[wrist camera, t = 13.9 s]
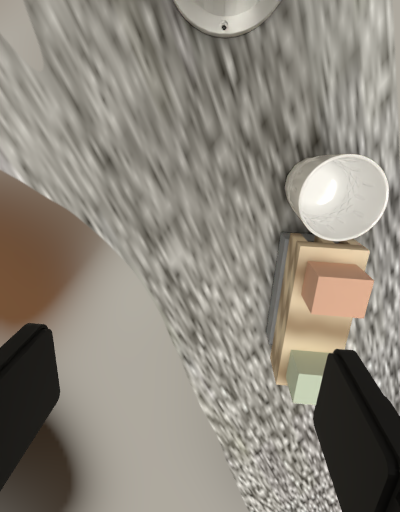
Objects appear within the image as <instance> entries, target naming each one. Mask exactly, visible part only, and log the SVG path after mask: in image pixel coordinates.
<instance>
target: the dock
mask: <svg viewBox="0 0 400 512" xmlns="http://www.w3.org/2000/svg"><path fill="white" fill-rule="evenodd" d="M302 236H303V237H304V238H305V239H306V240H307V241H308V242H314V238H315V235H314V234H302ZM289 238H290V233H286V232H281V235H280V242H279V249H278V255H277V262H276V269H275V275H274V282H273V289H272V296H271V302H270V309H269V316H268V323H267V329H266V333H267V337H268V342H269V344H271V345H272V344H273V338H274V331H275V325H276V319H277V313H278V307H279V300H280V294H281V288H282V282H283V275H284V269H285V263H286V257H287V251H288V244H289ZM333 242H334V243H335V244H339V241H333Z"/></svg>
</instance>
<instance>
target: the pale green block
mask: <svg viewBox="0 0 400 512" xmlns="http://www.w3.org/2000/svg"><path fill="white" fill-rule="evenodd" d="M328 354H329V353H324V352H312V351H301V350H291V352H290V357H289V363H288V368H287V373H286V380H287V383H288V387H289V391H290V394H291V398H292V402H293V403H298V404H309V405H316V402H317V398H318V394H319V390H320V385H321V381H322V377H323V373H324V368H325V364H326V360H327V356H328Z"/></svg>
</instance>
